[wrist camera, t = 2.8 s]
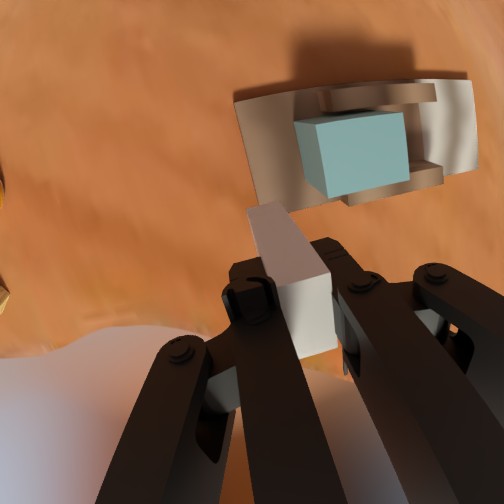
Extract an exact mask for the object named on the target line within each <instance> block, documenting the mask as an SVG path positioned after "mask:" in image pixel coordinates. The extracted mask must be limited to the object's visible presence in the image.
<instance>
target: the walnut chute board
mask: <svg viewBox="0 0 504 504" xmlns="http://www.w3.org/2000/svg"><path fill="white" fill-rule="evenodd" d="M233 104H234V108H235V112H236V115H237V119H238V123H239V127H240V131H241V135H242V139H243V143H244V147H245V151H246V155H247V159H248V163H249V167H250V171H251V176H252V180H253V184H254V188H255V192H256V196H257V200H258V204H259V205H263V204H267V203H270V202H274V201H278V200H279V201H280V203H281V204H282V205H283V207H284V208H285V209H286V211H287V212H288V213H290V212H294V211H298V210H302V209H306V208H310V207H314V206H318V205H322V204H326V203H330V202H334V201H338V200H341V201H342V202H344V203H345V204H346V205H348V206H349V207H350V206H354V205H358V204H362V203H366V202H370V201H374V200H378V199H382V198H386V197H390V196H395V195H399V194H403V193H407V192H411V191H416V190H420V189H424V188H428V187H433V186H437V185H441V184H444V179H443V176H448V175H452V174H457V173H462V172H467V171H472V170H476V169H478V140H477V125H476V114H475V104H474V96H473V89H472V82H471V80H453V79H401V80H380V81H366V82H355V83H345V84H336V85H328V86H320V87H313V88H306V89H300V90H294V91H288V92H282V93H277V94H272V95H267V96H262V97H257V98H252V99H248V100H243V101H239V102H235V103H233ZM362 110H379V111H392V112H403V117H404V125H405V133H406V142H407V151H408V162H409V176H410V180H407V181H403V182H398V183H393V184H389V185H385V186H380V187H376V188H371V189H367V190H363V191H358V192H354V193H350V194H346V195H341V196H337V197H333V198H329V199H328V198H327V197H326V196H324V195H323V194H322V193H321V192H319V191H318V190H317V189H316V188H314V187H313V186H312V185H311V184H309V183H308V182H307V181H306V180H305V175H304V169H303V164H302V159H301V154H300V149H299V144H298V139H297V135H296V130H295V125H294V121H299V120H305V119H310V118H316V117H322V116H328V115H334V114H340V113H347V112H355V111H362Z"/></svg>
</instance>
